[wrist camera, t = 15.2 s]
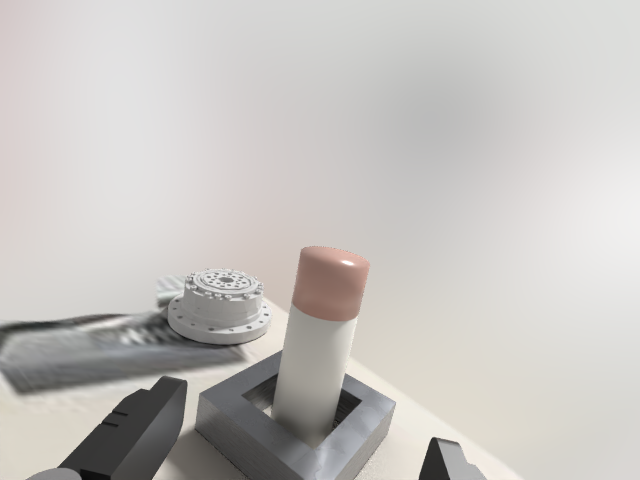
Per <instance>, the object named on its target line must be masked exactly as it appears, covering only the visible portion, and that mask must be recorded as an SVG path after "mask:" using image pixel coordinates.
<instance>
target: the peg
mask: <svg viewBox="0 0 640 480" xmlns="http://www.w3.org/2000/svg"><path fill="white" fill-rule="evenodd" d="M369 267H370V263H369V262H368V261H367V260H366V259H364V258H363V257H361V256H358V255H356V254H353V253H350V252H347V251H344V250H339V249H335V248H329V247H318V246H317V247H316V246H313V247H305V248H303V249H302V250H301V253H300V259H299V264H298V270H297V275H296V281H295V286H294V292H293V297H292V302H291V308H290V313H289V319H288V324H287V330H286V335H285V340H284V346H283V351H282V357H281V362H280V368H279V373H278V379H277V384H276V390H275V395H274V400H273V406H272V411H271V417H270V418H272V419H273V420H274V421H276V422H277V423H278V424H280V425H281V426H282V427H284V428H285V429H286V430H288V431H289V432H290V433H292V434H293V435H294V436H296V437H297V438H298V439H300V440H301V441H302V442H304V443H305V444H306V445H308V446H309V447H310V448H312V449H313V450H315V449H316V448H317V447H318V446H319V445H320V444H321V443H322V442H323V441H324V440H325V439H326V438H327V437H328V436H329V435H330V434H331V431H332V427H333V422H334V418H335V414H336V409H337V405H338V401H339V396H340V392H341V388H342V383H343V379H344V375H345V370H346V366H347V362H348V357H349V353H350V349H351V344H352V340H353V336H354V331H355V327H356V323H357V319H358V314H359V310H360V305H361V301H362V297H363V293H364V288H365V284H366V280H367V275H368V271H369Z"/></svg>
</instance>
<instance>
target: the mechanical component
mask: <svg viewBox="0 0 640 480" xmlns="http://www.w3.org/2000/svg"><path fill="white" fill-rule="evenodd" d="M263 285H264V284H263V283H260V282H259V281H257V277H255V276H252V277H251V276H249V275H247V274H244V272H242V271H239V272H237V271H236V270H227V269H222V270H221V269H217V270H210V269H205V271H202V272H199V273H197V272H192V274H191V275H188V276H187V278H186V280H185V291H184V293H182V294H180V295H178V296H176V297H175V298H174V299H173V300H171V302H170V304H169V306H168V323H169V325H170V327H171V328H172V329H173V330H174V331H176V332H177V333H179V334H180V335H182V336H184V337H186V338H189V339H192V340H195V341H198V342H203V343H211V344H237V343H245V342H248V341H251V340H254V339H257V338H258V337H260V336H262V335H263V334H265V333H266V332H267V330H268V328H269V327H270V323H271V317H272V311H271V309H270V307H269V306H268V304H267V303H265V302H264V301H263V300H262V298H263V291H264V287H263Z"/></svg>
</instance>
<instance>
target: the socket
mask: <svg viewBox="0 0 640 480" xmlns="http://www.w3.org/2000/svg"><path fill="white" fill-rule="evenodd" d="M282 351H283V350H281V351H279V352H277V353H275V354H274V355H272V356H270V357H268V358H266V359H264V360H262V361H260V362H258V363H256V364H255V365H253V366H251V367H249V368H247V369H245V370H243V371H241V372H239V373H237V374H236V375H234V376H232V377H230V378H228V379H226V380H224V381H222V382H220V383H218V384H217V385H215V386H213V387H211V388H209V389H207V390H205V391H203V392H201V393H200V394H199V401H198V409H197V416H196V424H195V429H196V430H197V431H198V432H199V433H200V434H201V435H202V436H203V437H205V438H206V439H207V440H208V441H209V442H210V443H211V444H212V445H213V446H214V447H215V448H217V449H218V450H219V451H220V452H221V453H222V454H223V455H224V456H225V457H226V458H228V459H229V460H230V461H231V462H232V463H233V464H234V465H235V466H236V467H237V468H238V469H240V470H241V471H242V472H243V473H244V474H245V475H246V476H247V477H248V478H249V479H250V480H354V478H355V477H356V476H357V474H358V473H359V472H360V470H361V469H362V467H363V466H364V465H365V463H366V462H367V461H368V459H369V458H370V456H371V455H372V454H373V452H374V451H375V450H376V448H377V447H378V446H379V444H380V443H381V441H382V440H383V439H384V437H385V436H386V435H387V433H388V430H389V426H390V423H391V419H392V416H393V412H394V409H395V405H396V402H395V401H393V400H391V399H390V398H388V397H386V396H384V395H383V394H381V393H379V392H377V391H376V390H374V389H372V388H370V387H369V386H367V385H365V384H363V383H362V382H360V381H358V380H356V379H355V378H353V377H351V376H349V375H348V374H346V373H345V375H344V379H343V383H342V388H341V392H340V396H339V401H338V405H337V409H336V414H335V418H334V419H335V420H337V421H338V422H340V424H339V425H338V426H337V428H336V429H335V430H334V431H333V432H332V433H331V434H330V435H329V436H328V437H327V438H326V439H325V440H324V441H323V442H322V443H321V444H320V445H319V446H318V447H317V448H316V449H315V450H313V449H312V448H310V447H309V446H308V445H306V444H305V443H304V442H302V441H301V440H300V439H298V438H297V437H296V436H294V435H293V434H292V433H290V432H289V431H288V430H286V429H285V428H284V427H282V426H281V425H280V424H278V423H277V422H276V421H274V420H273V419H272V418H270V417H269V416H268V415H266V414H265V413H264V412H262V410H264V409H265V408H267V407H268V406H270V405H271V404H272V403H273V400H274V395H275V390H276V384H277V379H278V373H279V368H280V362H281V357H282Z"/></svg>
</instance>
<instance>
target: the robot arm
mask: <svg viewBox="0 0 640 480" xmlns="http://www.w3.org/2000/svg"><path fill="white" fill-rule="evenodd" d="M186 394H187V381H186V380H181V379H177V378H172V377H168V376H162V377H161V378H160V379H159V380H158V382H157V383H156V384H155V385H154V386H153V387H152V388H151V389H150V390H145V389H140V390H138V391H136V392H134V393H132V394H131V395H129V396H127V397H125V398H124V399H123V400H122V401H121V402H120V403H119V404H118V405H117V406H116V407H115V408H114V409H113V410H112V413H110V414H109V415H108V416H107V417H106V418H105V419H104V420H103V421H102V423H101V424H99V425H98V426H97V427H96V428H95V429H94V430H93V431H92V432H91V433H90V434H89V435H88V436H87V437H86V438H85V439H84V440H83V442H82V443H81V444H80V445H79V446H78V447H77V448H76V449H75V450H74V451H73V452H72V453H71V454H70V455H69V456H68V457H67V458H66V459H65V460H64V461H63V462H62V463H61V464H60V465H59V466H58V467H57V468H54V469H49V470H45V471H42V472H40V473H37V474H35V475H33V476H31V477H29V478H28V479H26V480H152V479H153V477H154V475H155V474H156V472H157V471H158V469H159V467H160V466H161V464H162V463H163V461H164V459H165V458H166V456H167V455H168V453H169V451H170V450H171V448H172V447H173V445H174V443H175V442H176V440H177V438H178V436H179V433H180V430H181V427H182V424H183V418H184V410H185V402H186ZM419 480H487V479H486V478H485V477H484V475H483V474H482V473H481V472H480V470H479V469H478V468H477V467H476V466H475V465H473V464H468V463H467V461H466V459H465V456H464V454H463V451H462V449H461V446H460V445H459V443H458V442H454V441H449V440H445V439H441V438H436V437H433V438H432V439H431V441H430V443H429V447H428V450H427V453H426V456H425V459H424V462H423V466H422V469H421V472H420V475H419Z"/></svg>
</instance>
